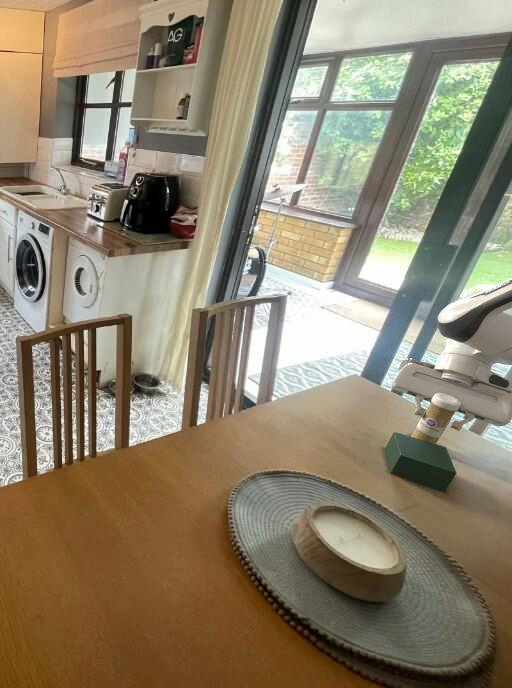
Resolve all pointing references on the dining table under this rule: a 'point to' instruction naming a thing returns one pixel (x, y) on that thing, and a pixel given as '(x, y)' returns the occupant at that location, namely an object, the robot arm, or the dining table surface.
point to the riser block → (420, 461)
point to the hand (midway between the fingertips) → (436, 421)
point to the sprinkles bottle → (436, 418)
